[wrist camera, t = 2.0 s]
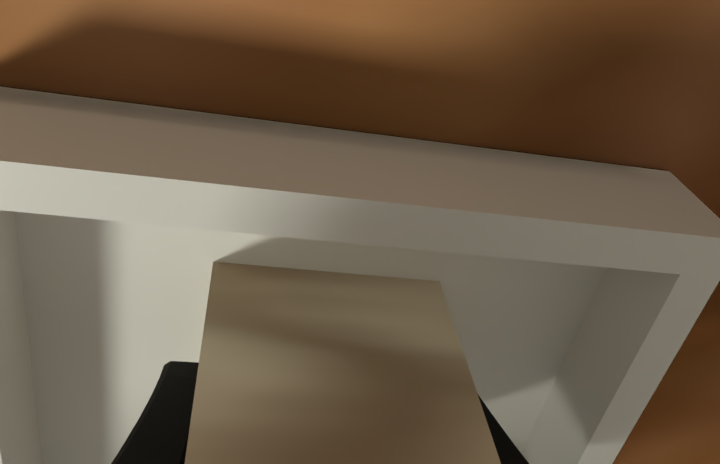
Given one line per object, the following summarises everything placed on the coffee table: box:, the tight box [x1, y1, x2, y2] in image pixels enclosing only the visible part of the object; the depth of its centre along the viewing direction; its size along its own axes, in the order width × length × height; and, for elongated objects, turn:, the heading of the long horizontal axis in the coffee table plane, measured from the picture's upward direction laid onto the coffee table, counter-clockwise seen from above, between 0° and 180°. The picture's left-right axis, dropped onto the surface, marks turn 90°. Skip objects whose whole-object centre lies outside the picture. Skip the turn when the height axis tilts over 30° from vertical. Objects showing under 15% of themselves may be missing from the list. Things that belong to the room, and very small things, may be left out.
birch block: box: [185, 262, 501, 464], centre depth 12 cm, size 4×4×5 cm
